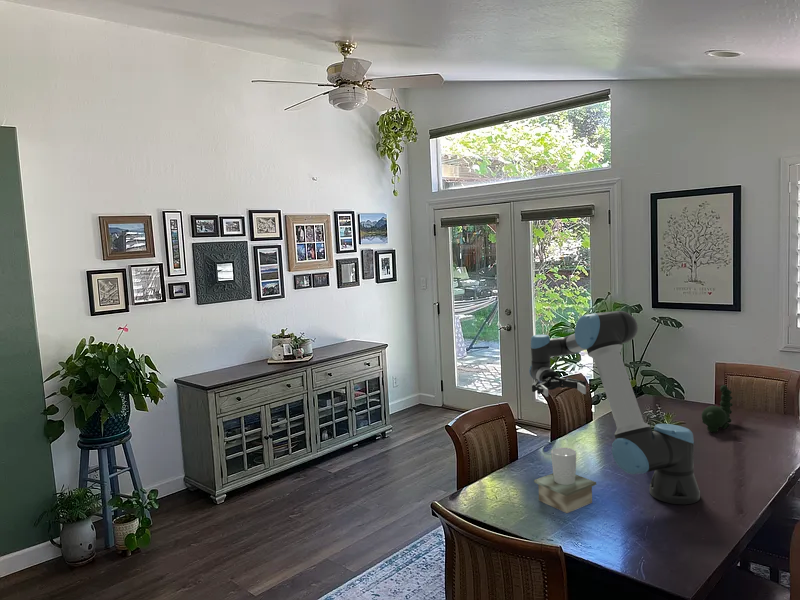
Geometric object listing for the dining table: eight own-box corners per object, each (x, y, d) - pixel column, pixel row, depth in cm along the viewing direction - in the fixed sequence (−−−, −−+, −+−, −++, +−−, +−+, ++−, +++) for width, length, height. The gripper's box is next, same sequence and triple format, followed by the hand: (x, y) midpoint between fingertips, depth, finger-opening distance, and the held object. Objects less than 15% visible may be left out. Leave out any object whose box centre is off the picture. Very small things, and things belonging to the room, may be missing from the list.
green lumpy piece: (715, 423, 268) (695, 432, 251) (716, 382, 268) (696, 388, 250) (738, 427, 262) (719, 437, 244) (739, 385, 261) (720, 391, 244)
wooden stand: (596, 502, 192) (596, 482, 191) (567, 515, 184) (566, 493, 183) (563, 489, 203) (563, 469, 203) (534, 500, 196) (533, 480, 195)
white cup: (582, 483, 191) (581, 453, 190) (561, 487, 188) (560, 457, 187) (567, 474, 198) (566, 446, 197) (547, 478, 196) (546, 449, 195)
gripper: (579, 385, 231) (600, 399, 210) (517, 389, 230) (531, 404, 209) (579, 367, 230) (600, 379, 209) (516, 371, 229) (531, 383, 208)
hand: (566, 391), depth 209 cm, fingers open, 13 cm apart
